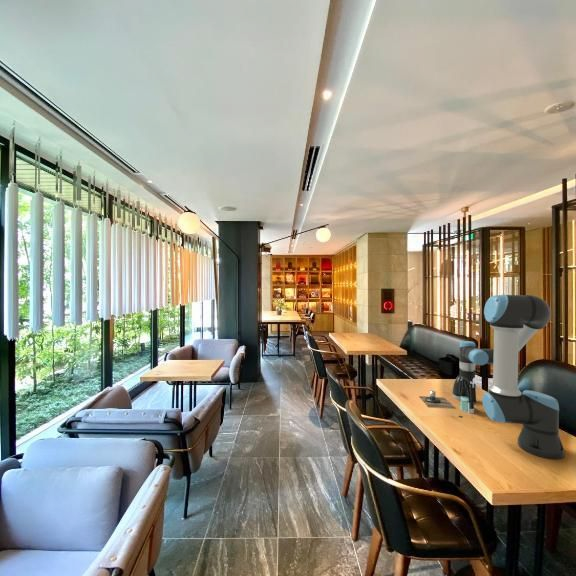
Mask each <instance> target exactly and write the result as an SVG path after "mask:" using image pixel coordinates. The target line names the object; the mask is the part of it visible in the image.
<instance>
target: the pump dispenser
mask: <svg viewBox="0 0 576 576" xmlns="http://www.w3.org/2000/svg"><path fill="white" fill-rule="evenodd" d="M459 377H461V376H460V375H459V374H458V375H457V377H456V378H455V380H454V382H453V386H452V391H451V392H452V396H453V398H454V399H455V400H457V401H460V402H461V396H460V394H459V383H460V379H459ZM468 388H469V387H468ZM466 395H467V396H465V397H468V393H467V392H466Z"/></svg>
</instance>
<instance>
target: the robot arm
mask: <svg viewBox="0 0 576 576" xmlns="http://www.w3.org/2000/svg"><path fill="white" fill-rule="evenodd" d="M483 315H484V319H485V321H486V322H488V323H489V326H490V327H491V328H492V329H493V348H477V346H476V343H475V341H469V340H461V341H459V347H458V348H459V363H458V365H459V374H458V376H459V375H460V376H461V377H459V379H460V383H459V394H460V396H461V397H465V396H467V395H466V392H467V393H468V399H469V401H467V402H468V412H467V414H475V404H477V391H476V387H477V386H476V383H474V382H473V379H475V378H476V366H484V365H486V364H487V365H492V367H493V368H492V384H491V385H490V386H488V392H483V394H482V397H481V399H482V400H481V401H482V406H483V409H484V411H485V412H484V413H485V414H486V416H487V417H488V418H489V419H490V420H491V421H493V422H495V423H502V424H516V425H517V424H520V425H522V428H521V430H520V433H519V435H518V437H517V445H518V447H520V448H521V449H522V450H523V451H525V452H527V453H529V454H532V455H535V456H538V457H542V458H545V459H552V460H553V459H554V460H559V459H560V460H561V459H563V458H564V457H565V449H564V445H563V443H562V441H561V438H560V435H559V433H560V432H559V424H560V421H559V419H560V417H559V415H560V407H559V406H560V405H559V401H558V399H556V398H555V397H553V396H551V395H548V394H545V393H542V392H539V391H535V390H529V389H527V390H523V391H522V392H521V390H520V389H518V383H519V381H518V379H519V352H520V351H521V350H522V349H523V348H524V347H525V345H526V344H527V343H528V342H529V341H530V340H531V338H532V337H533V336H534V335H535V334H536V333H537V332H538V330H539V331H540V330H542V329H544V328H545V327H546V326H547V325H548V323H549V322H550V320H551V317H552V310H551V308H550V306H549V304H548V303H547V302H546V301H545V300H544V299H542V298H541V297H538V296H537V295H533V294H532V295H531V294H527V295H525V294H523V295H522V294H521V295H520V294H516V295H515V294H495V295H492V296H490V297H489V298H488V299H487V300H486V303H485V305H484V308H483ZM468 387H469V388H468Z"/></svg>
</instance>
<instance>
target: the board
mask: <svg viewBox="0 0 576 576" xmlns="http://www.w3.org/2000/svg"><path fill="white" fill-rule="evenodd" d="M418 397H419V399H420V400H421V401H422V402H423V403H424V404H425V405H426V407H427V408H431V409H432V408H433V409H451V410H452V409H453V410H457V408H456V407H455V406H454V405H453V404H452V403H451V402H450V401H449V400H447V399H446V398H445V397H443V396H441V397H439V396H436V398H438V399H440V403H430V402H427V401H426V400H425V398H426V397H427V396H426V395H425V396H424V395H423V396H421V395H420V396H418Z"/></svg>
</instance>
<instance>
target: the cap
mask: <svg viewBox="0 0 576 576" xmlns="http://www.w3.org/2000/svg"><path fill="white" fill-rule="evenodd" d="M467 401H469V399H468V397H461V401H460V410H461V411H462V412H466V413H468V402H467Z"/></svg>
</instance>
